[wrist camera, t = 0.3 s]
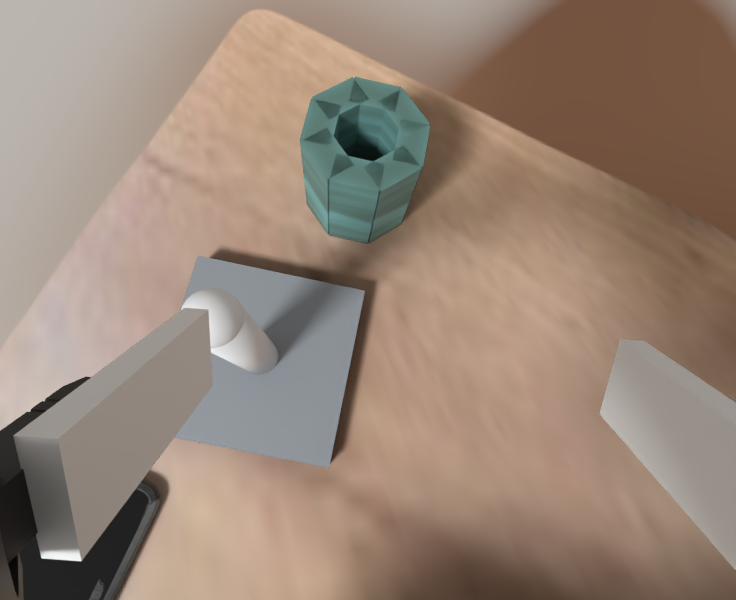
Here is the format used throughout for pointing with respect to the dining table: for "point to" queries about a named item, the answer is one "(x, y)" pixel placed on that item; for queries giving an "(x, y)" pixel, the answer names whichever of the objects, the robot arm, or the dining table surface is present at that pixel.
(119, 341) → the dining table surface
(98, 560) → the phone
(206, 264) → the spindle plate
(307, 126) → the bead
